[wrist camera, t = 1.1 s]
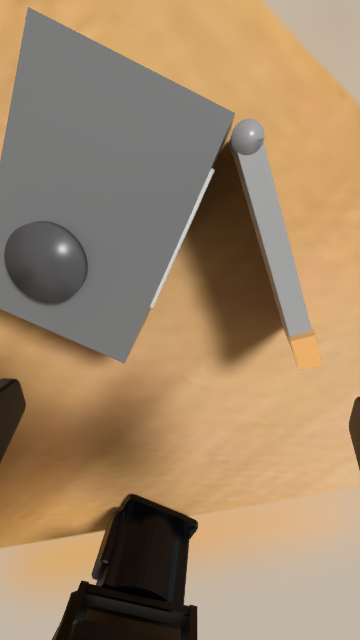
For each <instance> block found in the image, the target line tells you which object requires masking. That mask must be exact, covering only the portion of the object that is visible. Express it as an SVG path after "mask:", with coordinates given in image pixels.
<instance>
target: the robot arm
mask: <svg viewBox="0 0 360 640" xmlns="http://www.w3.org/2000/svg"><path fill="white" fill-rule="evenodd" d="M25 406H26V403H25V399H24V395H23V392H22V388H21V385H20V382H19V381H18V380H16V379H7V378H4V379H0V462H1V460H2V458H3V456H4V454H5V452H6V450H7V448H8V445H9V443H10V441H11V439H12V437H13V435H14V432H15V430H16V428H17V426H18V424H19V422H20V419H21V417H22V415H23V413H24V410H25ZM349 431H350V435H351V439H352V443H353V446H354V450H355V454H356V458H357V462H358V466H359V469H360V397H357V398H356V399H355V401H354V405H353V409H352V413H351V416H350V420H349ZM197 528H198V522H197V521H196V520H194V519H192V518H190V517H187V516H185V515H182V514H180V513H177V512H175V511H172V510H170V509H167V508H165V507H162V506H160V505H158V504H155V503H153V502H150V501H148V500H145V499H143V498H140V497H138V496H135V495H130V496H129V497H128V498H127V500H126V502H125V504H124V505H123V507H122V509H121V511H117V512H115V513H114V515H113V517H112V519H111V521H110V522H109V524H108V526H107V528H106V531H105V534H104V537H103V540H102V544H101V547H100V550H99V553H98V556H97V559H96V562H95V565H94V568H93V572H92V577H93V579H95V580H97V583H96V585H92V584H89V582H86V581H81V583H80V585H79V588H78V590H77V591H75V592H72V593H71V596H70V599H69V601H68V604H67V607H66V610H65V613H64V615H63V618H62V620H61V623H60V625H59V627H58V628H57V631H56V632H55V634H54V636H53V638H52V640H197V606H194V605H190V606H186V605H184V595H185V584H186V572H187V560H188V548H189V539H190V538H191V537H192V535H193V534H194V533H195V532H196V530H197Z"/></svg>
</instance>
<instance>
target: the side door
mask: <svg viewBox="0 0 360 640" xmlns="http://www.w3.org/2000/svg"><path fill="white" fill-rule="evenodd" d="M229 150H230V153H231V154H232V155H233V157H234V160H235V164H236V167H237V170H238V174H239V177H240V181H241V184H242V188H243V191H244V195H245V198H246V202H247V205H248V209H249V212H250V215H251V219H252V222H253V226H254V229H255V233H256V236H257V240H258V243H259V247H260V250H261V253H262V257H263V260H264V264H265V267H266V271H267V274H268V278H269V281H270V285H271V288H272V292H273V295H274V298H275V302H276V305H277V309H278V312H279V316H280V319H281V323H282V326H283V329H284V331H285V334H286V336H287V339H288V341H289V344H290V346H291V349H292V351H293V354H294V358H295V361H296V365H297V367H298V370H302V369H306V368H310V367H314V366H318V365H322V364H323V363H322V359H321V355H320V351H319V348H318V344H317V340H316V336H315V334H314V332H313V330H312V329H311V326H310V322H309V318H308V314H307V310H306V306H305V302H304V298H303V294H302V290H301V286H300V282H299V279H298V275H297V271H296V267H295V263H294V259H293V255H292V251H291V247H290V243H289V239H288V235H287V231H286V228H285V224H284V220H283V216H282V212H281V208H280V204H279V200H278V196H277V192H276V188H275V184H274V181H273V177H272V173H271V169H270V165H269V161H268V157H267V153H266V149H265V145H264V130H263V127H262V126H261V124H260V123H259V122H258V121H256V120H254V119H245V120H242V121H241V122H239V123H238V124H237V125H236V126H235V128H234V130H233V132H232V136H231V139H230V142H229Z"/></svg>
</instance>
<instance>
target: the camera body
mask: <svg viewBox="0 0 360 640" xmlns="http://www.w3.org/2000/svg"><path fill="white" fill-rule="evenodd" d="M234 115H235V113H234V112H232V111H230V110H228V109H226V108H224V107H222V106H220V105H218V104H216V103H214V102H212V101H210V100H208V99H206V98H204V97H202V96H200V95H199V94H197V93H195V92H193V91H191V90H189V89H187V88H185V87H183V86H181V85H179V84H177V83H175V82H173V81H171V80H169V79H167V78H165V77H163V76H162V75H160V74H158V73H156V72H154V71H152V70H150V69H148V68H146V67H144V66H142V65H140V64H138V63H136V62H134V61H132V60H130V59H128V58H126V57H124V56H123V55H121V54H119V53H117V52H115V51H113V50H111V49H109V48H107V47H105V46H103V45H101V44H99V43H97V42H95V41H93V40H91V39H89V38H87V37H86V36H84V35H82V34H80V33H78V32H76V31H74V30H72V29H70V28H68V27H66V26H64V25H62V24H60V23H58V22H56V21H54V20H52V19H50V18H48V17H47V16H45V15H43V14H41V13H39V12H37V11H35V10H33V9H31V8H29V7H28V10H27V16H26V21H25V27H24V33H23V38H22V44H21V49H20V55H19V61H18V66H17V72H16V77H15V83H14V88H13V94H12V100H11V105H10V111H9V116H8V122H7V128H6V133H5V139H4V144H3V150H2V155H1V161H0V309H1V310H3V311H6V312H8V313H10V314H13V315H15V316H17V317H19V318H22V319H24V320H26V321H29V322H31V323H33V324H35V325H38V326H40V327H42V328H45V329H47V330H49V331H51V332H54V333H56V334H58V335H61V336H63V337H65V338H67V339H70V340H72V341H74V342H77V343H79V344H81V345H83V346H86V347H88V348H90V349H93V350H95V351H97V352H99V353H102V354H104V355H106V356H109V357H111V358H113V359H115V360H118V361H120V362H122V363H125V361H126V359H127V357H128V355H129V353H130V351H131V349H132V347H133V345H134V343H135V341H136V339H137V337H138V335H139V333H140V331H141V329H142V327H143V325H144V323H145V321H146V318H147V316H148V314H149V312H150V309H151V308H153V307H154V304H155V302H156V300H157V298H158V296H159V294H160V292H161V290H162V288H163V286H164V283H165V281H166V279H167V277H168V274H169V272H170V270H171V268H172V266H173V263H174V261H175V259H176V257H177V254H178V252H179V250H180V248H181V245H182V243H183V241H184V239H185V237H186V234H187V232H188V230H189V228H190V225H191V223H192V221H193V219H194V217H195V214H196V212H197V210H198V208H199V205H200V203H201V201H202V199H203V196H204V194H205V192H206V190H207V188H208V185H209V183H210V181H211V179H212V176H213V174H214V172H215V169H213V168H214V166H215V163H216V161H217V159H218V157H219V154H220V152H221V150H222V148H223V145H224V143H225V141H226V139H227V136H228V134H229V132H230V130H231V127H232V123H233V119H234Z"/></svg>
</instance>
